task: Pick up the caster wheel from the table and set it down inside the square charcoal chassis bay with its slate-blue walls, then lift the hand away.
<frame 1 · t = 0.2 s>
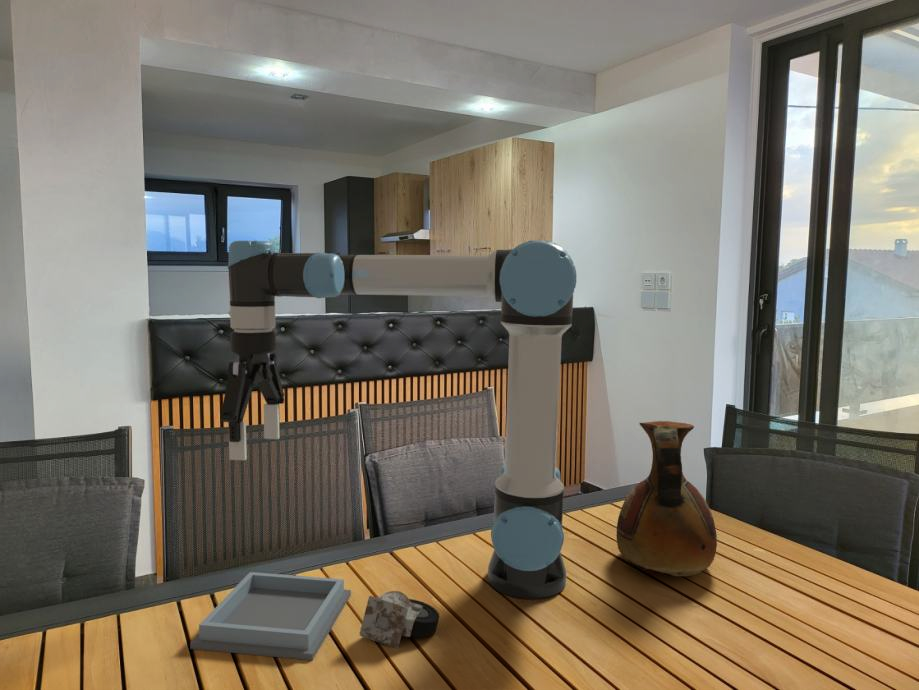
hand: (256, 448, 115), 28 cm above the table, tool pointing down, fingers open, 13 cm apart
chassis bay: (276, 619, 110), on the table
caster wheel: (403, 632, 107), on the table
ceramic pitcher: (664, 565, 132), on the table
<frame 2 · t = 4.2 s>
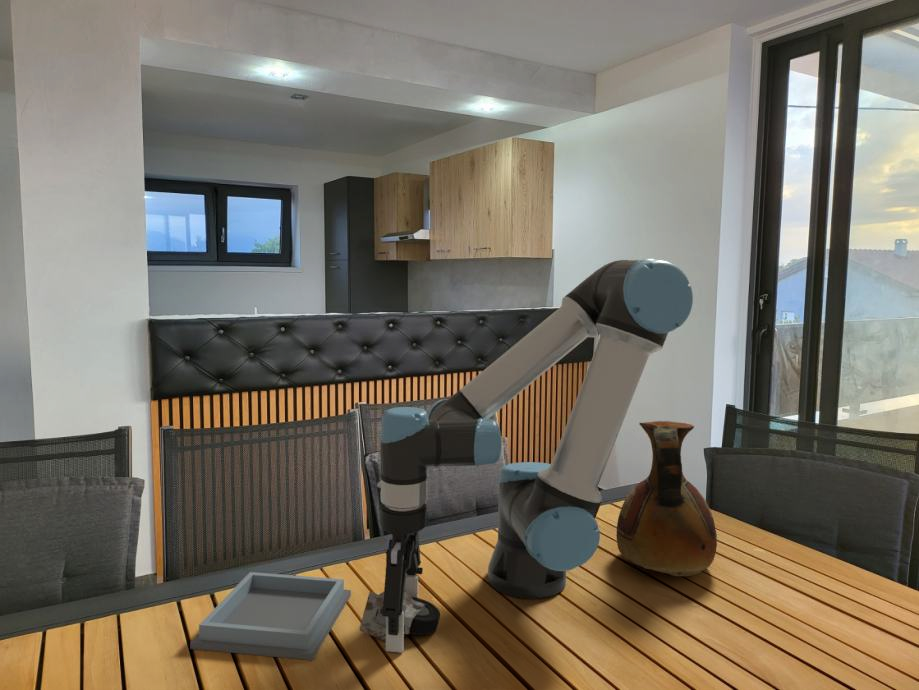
hand: (402, 629, 107), 0 cm above the table, tool pointing down, fingers open, 11 cm apart
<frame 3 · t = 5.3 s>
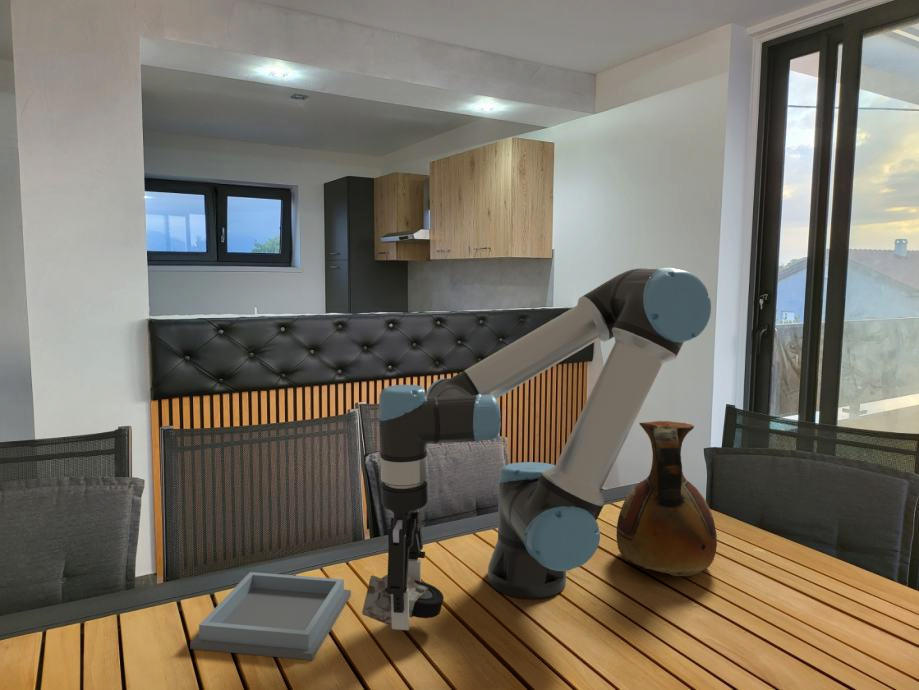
hand: (407, 611, 107), 3 cm above the table, tool pointing down, fingers closed on caster wheel, 9 cm apart
caster wheel: (407, 613, 107), point 3 cm above the table, touching gripper
everything else where it was.
when the fingers open (2 cm above the table, at t = 11.1 s): caster wheel stays where it is, resting on chassis bay.
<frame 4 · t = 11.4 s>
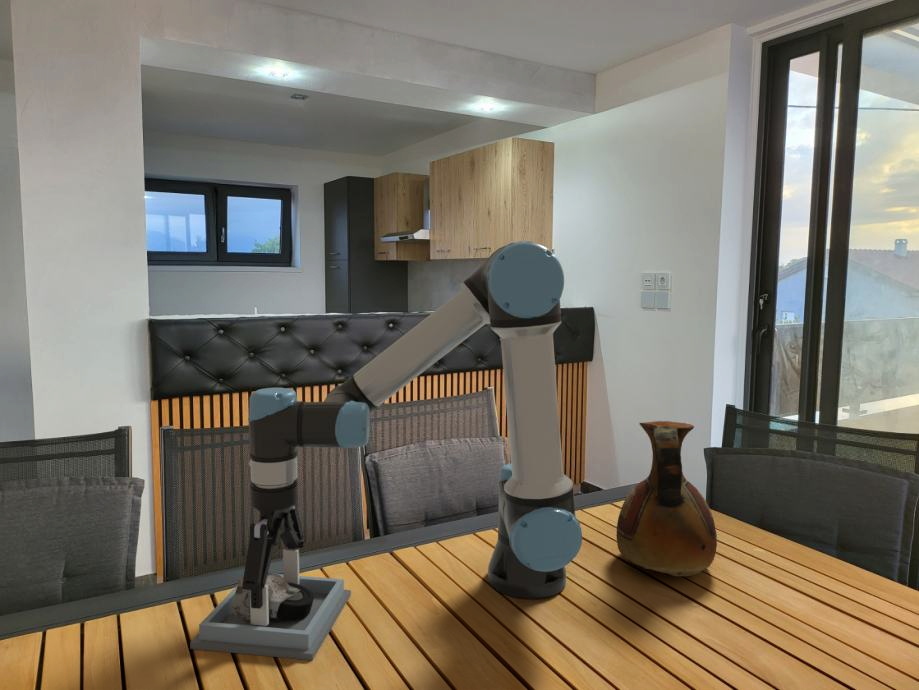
hand: (276, 603, 109), 3 cm above the table, tool pointing down, fingers open, 12 cm apart
caster wheel: (277, 614, 110), point 1 cm above the table, touching chassis bay
everything else where it was.
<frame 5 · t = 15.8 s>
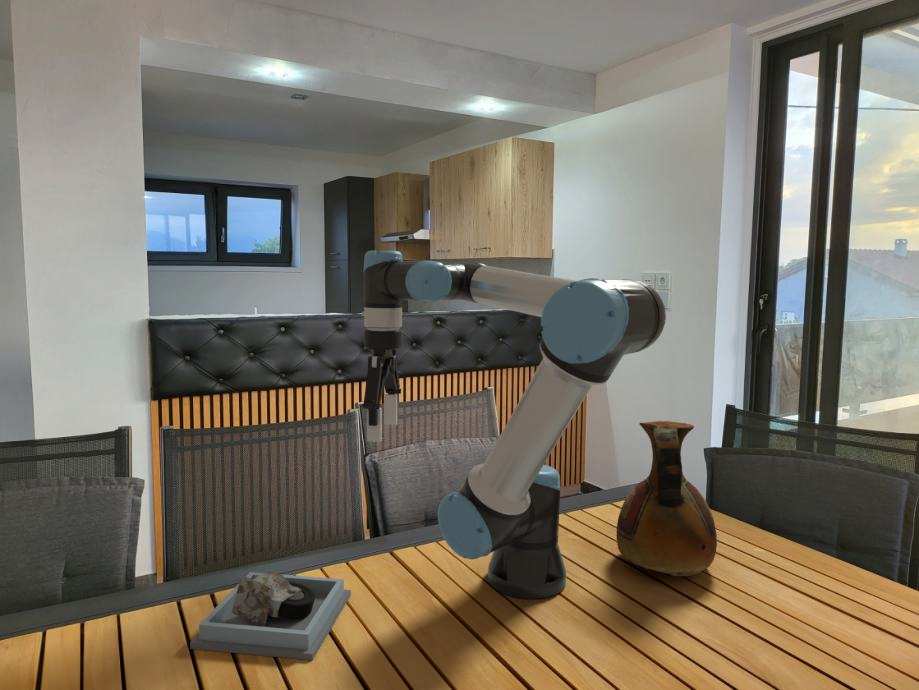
hand: (382, 432, 131), 27 cm above the table, tool pointing down, fingers open, 13 cm apart
nothing on the table moved.
at the end: caster wheel inside the target area on the chassis bay (0.6 cm from its centre), point 0.8 cm above the chassis bay's base; caster wheel tilted 0°; the gripper is holding nothing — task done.
